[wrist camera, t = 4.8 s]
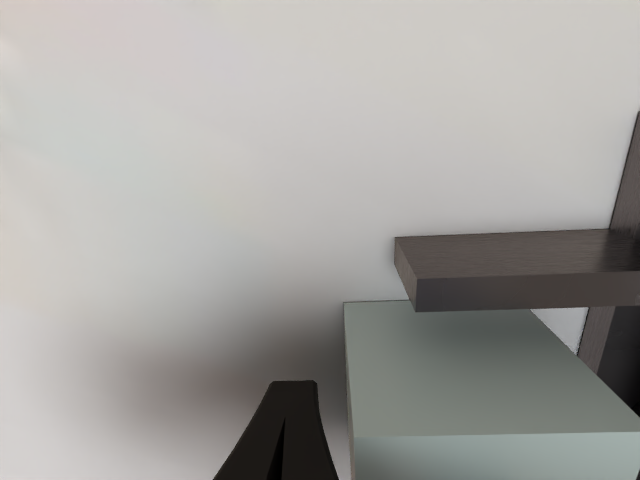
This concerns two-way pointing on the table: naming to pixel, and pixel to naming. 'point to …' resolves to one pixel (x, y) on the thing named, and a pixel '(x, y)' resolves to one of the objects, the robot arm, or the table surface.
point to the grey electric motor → (546, 279)
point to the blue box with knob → (477, 400)
